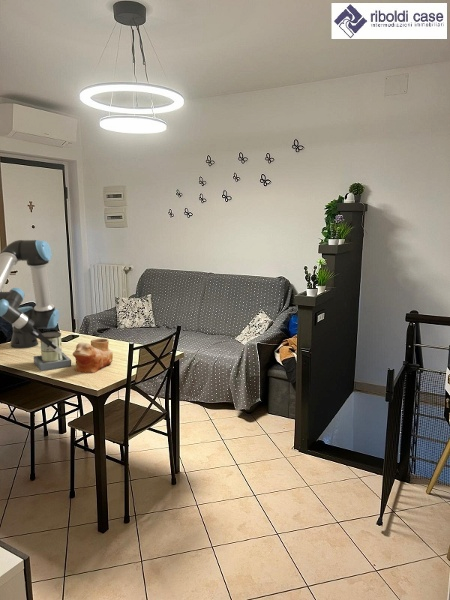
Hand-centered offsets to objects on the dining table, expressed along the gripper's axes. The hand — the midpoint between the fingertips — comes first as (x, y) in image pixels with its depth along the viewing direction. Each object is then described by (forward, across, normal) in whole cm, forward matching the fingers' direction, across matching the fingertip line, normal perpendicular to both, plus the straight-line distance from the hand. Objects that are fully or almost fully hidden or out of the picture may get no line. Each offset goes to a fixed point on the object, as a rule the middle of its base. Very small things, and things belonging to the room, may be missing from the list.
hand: (57, 349), depth 234 cm
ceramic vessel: (+15, +16, +4) cm, 23 cm away
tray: (+3, 0, -8) cm, 8 cm away
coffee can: (+2, 0, -6) cm, 6 cm away
